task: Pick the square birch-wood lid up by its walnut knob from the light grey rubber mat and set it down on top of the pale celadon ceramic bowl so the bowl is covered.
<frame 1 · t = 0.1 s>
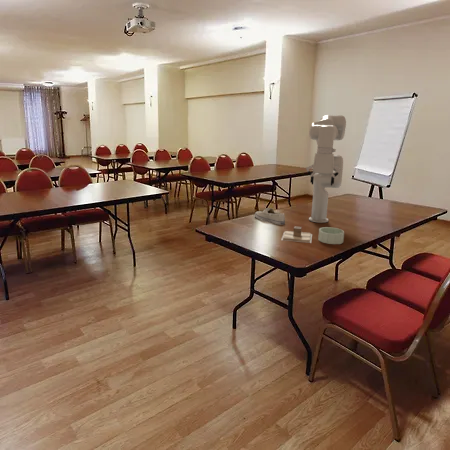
hand: (321, 184, 191), 31 cm above the table, tool pointing down, fingers open, 9 cm apart
boat shoe: (269, 220, 241), on the table
mat: (296, 238, 205), on the table
lid: (297, 237, 205), point 1 cm above the table, touching mat
bowl: (330, 241, 201), on the table
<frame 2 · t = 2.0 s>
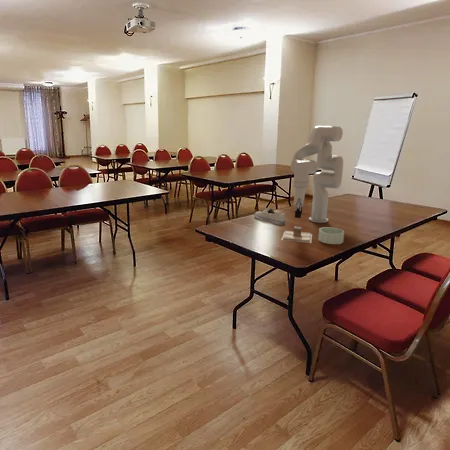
hand: (298, 215, 201), 13 cm above the table, tool pointing down, fingers open, 9 cm apart
nothing on the table moved.
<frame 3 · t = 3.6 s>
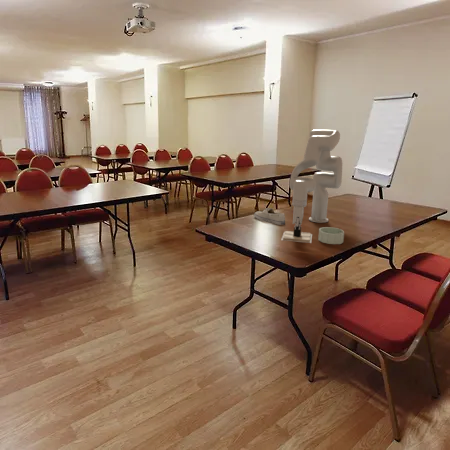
hand: (297, 234, 205), 2 cm above the table, tool pointing down, fingers closed on lid, 4 cm apart
lid: (297, 237, 205), point 1 cm above the table, touching gripper, mat
everything else where it was.
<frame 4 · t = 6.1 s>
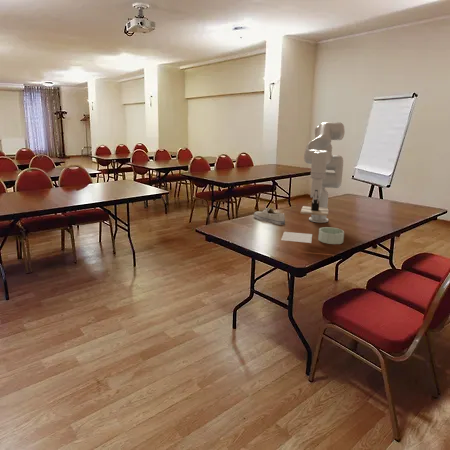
hand: (315, 209, 198), 17 cm above the table, tool pointing down, fingers closed on lid, 4 cm apart
lid: (314, 211, 199), point 16 cm above the table, touching gripper
everything else where it was.
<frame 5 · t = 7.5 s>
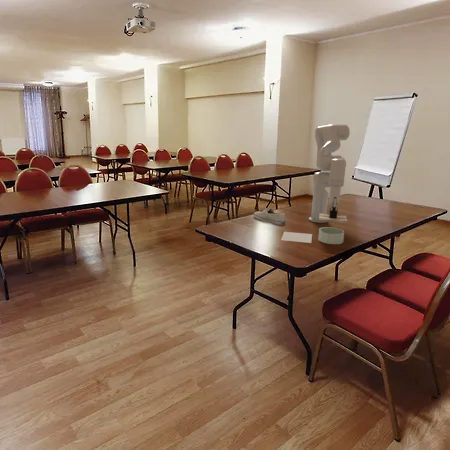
hand: (333, 216, 197), 14 cm above the table, tool pointing down, fingers closed on lid, 4 cm apart
lid: (332, 219, 197), point 13 cm above the table, touching gripper
everything else where it was.
when the fingers open (8 cm above the table, at t = 8.8 s): lid stays where it is, resting on bowl.
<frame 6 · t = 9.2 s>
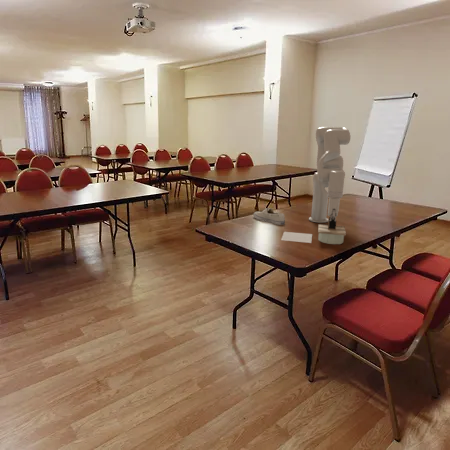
hand: (331, 226, 199), 9 cm above the table, tool pointing down, fingers open, 8 cm apart
lid: (331, 230, 199), point 6 cm above the table, touching bowl
everything else where it was.
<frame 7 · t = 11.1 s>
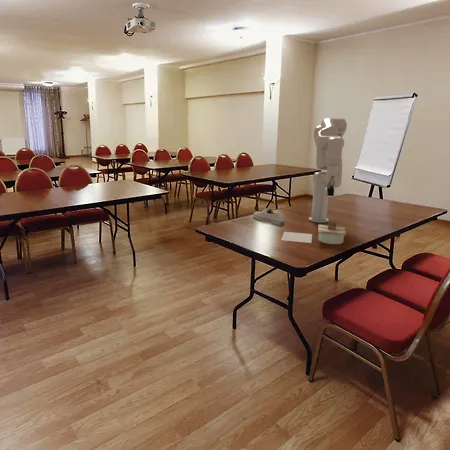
hand: (330, 193, 198), 25 cm above the table, tool pointing down, fingers open, 9 cm apart
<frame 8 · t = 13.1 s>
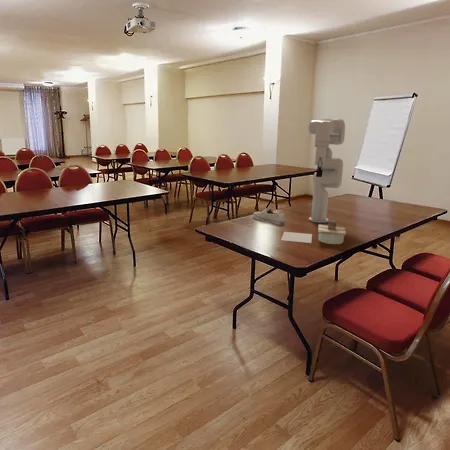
hand: (319, 175, 207), 33 cm above the table, tool pointing down, fingers open, 9 cm apart
at the end: lid 0.1 cm off-centre on the bowl, point 6.0 cm above the bowl's base; lid tilted 0°; the gripper is holding nothing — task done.
